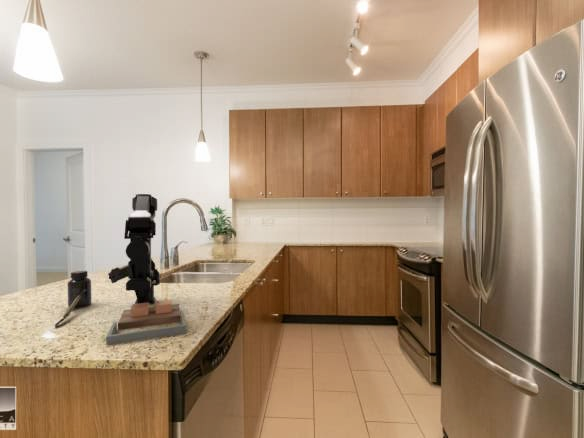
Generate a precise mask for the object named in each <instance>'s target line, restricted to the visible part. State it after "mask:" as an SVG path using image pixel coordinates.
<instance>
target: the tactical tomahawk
mask: <svg viewBox="0 0 584 438" xmlns="http://www.w3.org/2000/svg"><path fill="white" fill-rule="evenodd" d="M84 292H86V289H84V290H83V292H81V293H80V294H79V295H78V296H76V297H75V298H74V299H73V300H72V301H71V302H70V303H69V305H70V304H71V303H72V302H73V303H72V304H71V306H70V307H68V309H67V310H66V312H65V313H64V314H63V316H62V317H63V318H61V319H59V321H57V322H56V323H55V324H54V327H57V326H59V325H60V323H62V322H64V320H66V319H67V318H68V317H69V316H70V314H71V312H73V310H74V309H75V308H74V307H75V305H76V304H77V302H78V300H79V299H80V297H81V295H82V294H83V293H84ZM69 305H68V304H67V306H69Z"/></svg>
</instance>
